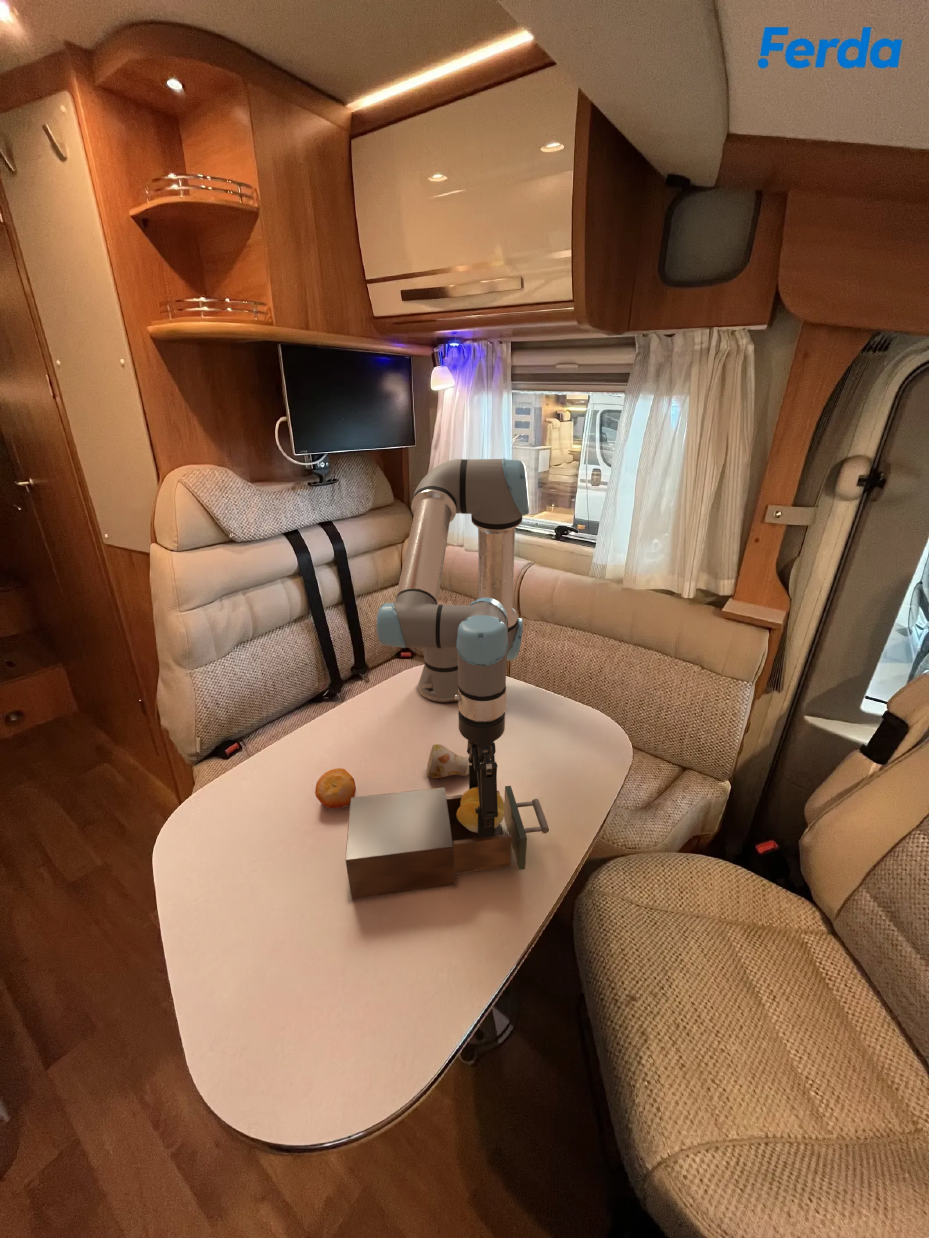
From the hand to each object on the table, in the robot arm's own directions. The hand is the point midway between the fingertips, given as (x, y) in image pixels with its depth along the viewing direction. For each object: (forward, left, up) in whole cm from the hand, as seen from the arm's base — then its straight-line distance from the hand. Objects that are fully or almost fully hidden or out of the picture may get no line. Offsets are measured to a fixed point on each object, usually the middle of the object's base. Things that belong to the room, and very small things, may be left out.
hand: (481, 812), depth 90 cm
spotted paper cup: (-21, -4, -9) cm, 23 cm away
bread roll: (0, 0, 0) cm, 0 cm away
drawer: (0, +1, -8) cm, 8 cm away
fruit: (-16, -28, -9) cm, 33 cm away
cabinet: (0, -15, -9) cm, 17 cm away
